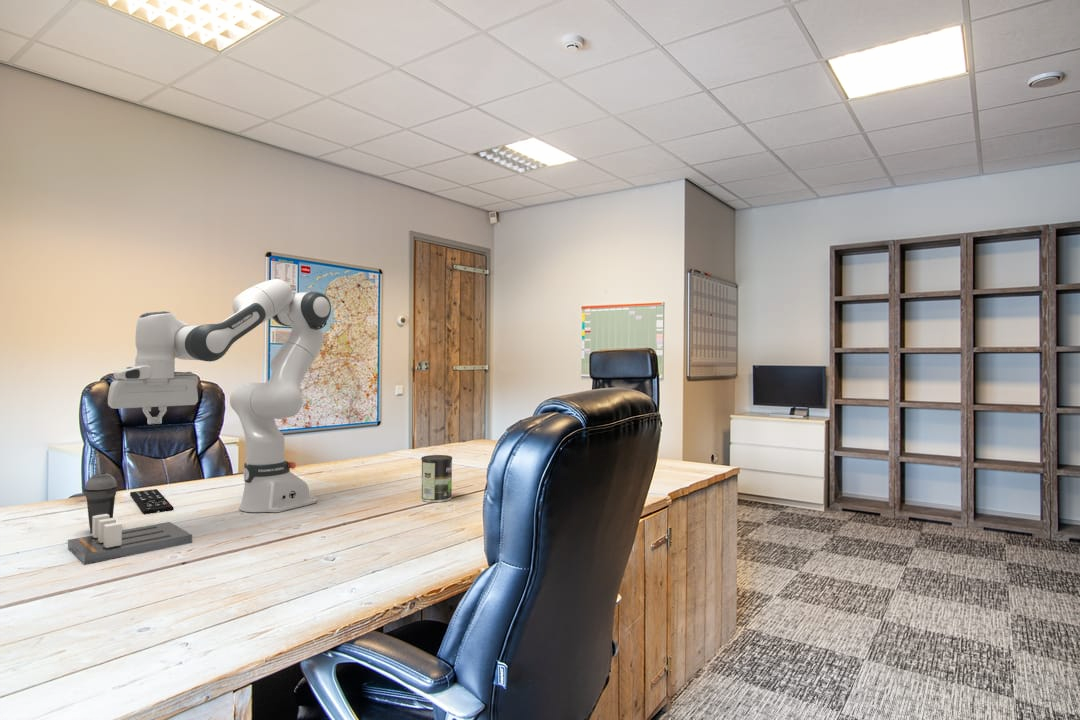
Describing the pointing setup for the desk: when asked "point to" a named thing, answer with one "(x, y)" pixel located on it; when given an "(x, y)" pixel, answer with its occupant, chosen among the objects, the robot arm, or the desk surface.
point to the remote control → (151, 501)
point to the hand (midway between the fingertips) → (154, 423)
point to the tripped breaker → (112, 534)
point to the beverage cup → (100, 494)
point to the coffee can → (436, 478)
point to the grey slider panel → (130, 542)
